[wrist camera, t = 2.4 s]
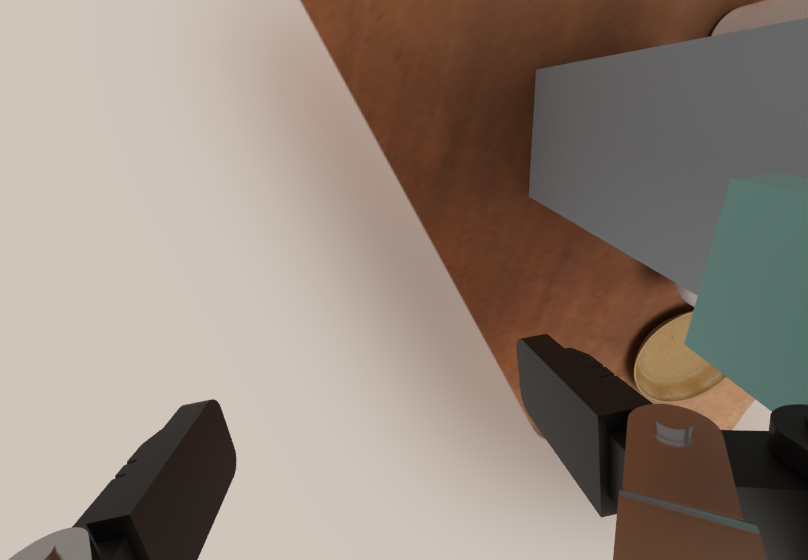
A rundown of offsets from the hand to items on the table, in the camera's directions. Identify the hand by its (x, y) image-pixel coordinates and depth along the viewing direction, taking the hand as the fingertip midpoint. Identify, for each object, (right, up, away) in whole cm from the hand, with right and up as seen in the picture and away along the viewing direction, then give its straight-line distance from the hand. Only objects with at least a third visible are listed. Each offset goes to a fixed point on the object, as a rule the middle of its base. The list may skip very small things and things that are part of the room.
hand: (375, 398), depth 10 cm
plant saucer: (+38, -6, +42) cm, 57 cm away
